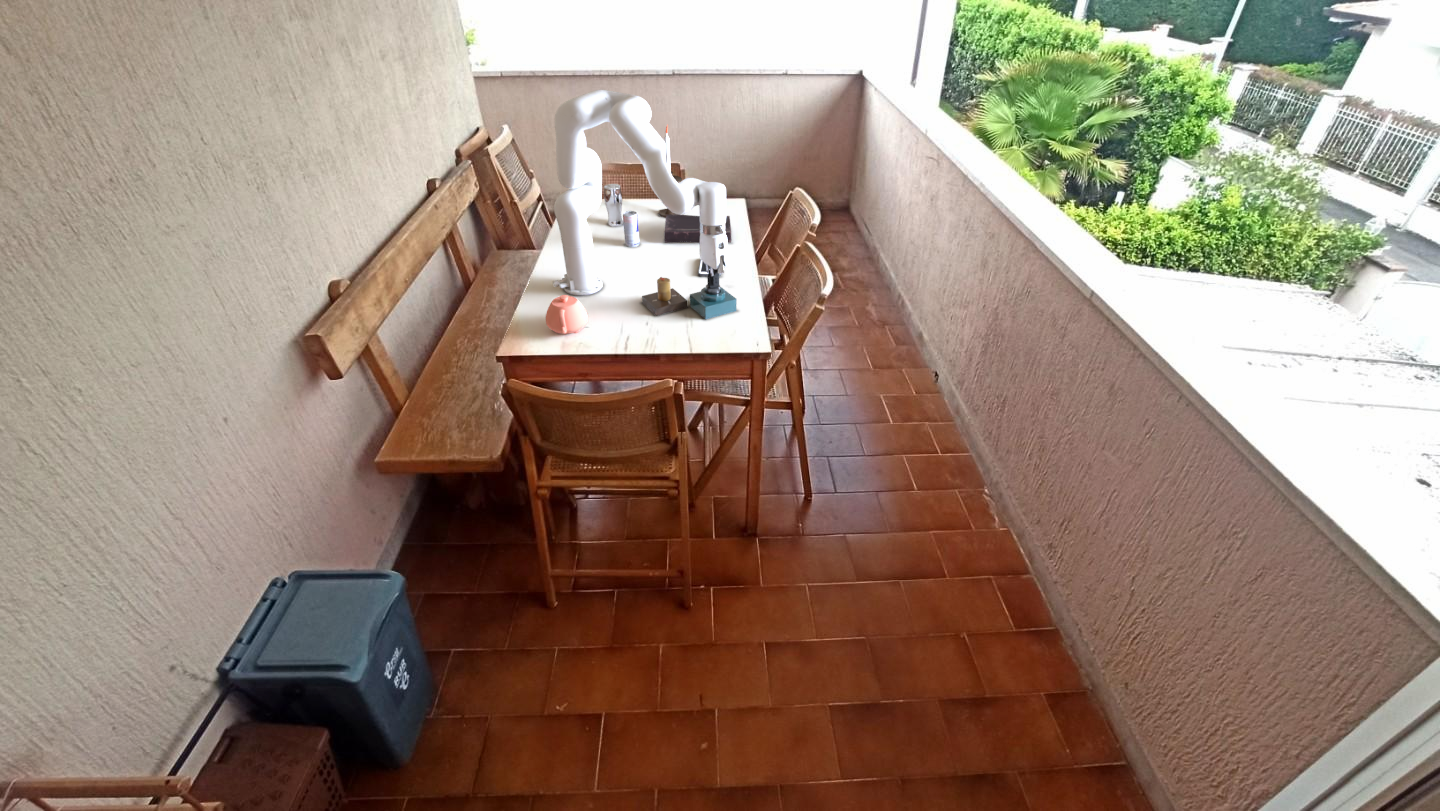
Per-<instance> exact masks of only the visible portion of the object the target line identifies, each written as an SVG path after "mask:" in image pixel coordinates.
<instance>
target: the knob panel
mask: <svg viewBox="0 0 1440 811" xmlns="http://www.w3.org/2000/svg"><path fill="white" fill-rule="evenodd" d="M670 289H671V299H670V300H667V301H661V300H659V299H658V291H656V292H651V293H649V294H645V295H644V294H643V295H642V296H641V303H642V304H643V305H644V306H645V307H646V308H647V309H648V310H649V311H650V312H651V313H652V314H653V315H654V316H655V317H658V316H662V315H665V314H666V315H667V314H668V313H673V312H677V311H680V310H684V309H688V308H689V305H688V303H689V302H688V299H686V298H685V296H683V295H682V294H680V293H679V292H678V291H677V290H676V289H674V288H670Z"/></svg>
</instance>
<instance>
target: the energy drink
mask: <svg viewBox="0 0 1440 811" xmlns="http://www.w3.org/2000/svg"><path fill="white" fill-rule="evenodd" d="M622 220H623V234H624V235H623V236H624V242H625V243H624V244H625V246H626V247H627V248H636V247H639V245H640V242H641V241H640V231H639V218H638V213H637V212H636V211H634V210H628V211H624V212H622Z"/></svg>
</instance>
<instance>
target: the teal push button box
mask: <svg viewBox="0 0 1440 811" xmlns="http://www.w3.org/2000/svg"><path fill="white" fill-rule="evenodd" d="M689 307H690V308H691V309H693V311H695V312H696V313H697V314H698V315H700V316H701V317H702V318H703V319H705V320H709V319H713V318H715V317H720V316H723V315H727V314H730V313H734V312H737V298H736V297H735V296H734V295H732V294H731V293H729V292H728V291H727V290H726V289H724V288H723V287H722V286H720V293H719V294H717V295H709V294H706V286H704V287H703V288H701V290H700V291H697V292H693V293H690V294H689Z"/></svg>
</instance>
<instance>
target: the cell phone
mask: <svg viewBox="0 0 1440 811" xmlns="http://www.w3.org/2000/svg"><path fill="white" fill-rule="evenodd" d="M707 274H709V273H707V271H706V265H705V263H704V262H703V261H702V260H701V259H700V262H699V267H698V276H700V277H707ZM721 275H722V274H719V277H721Z"/></svg>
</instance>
